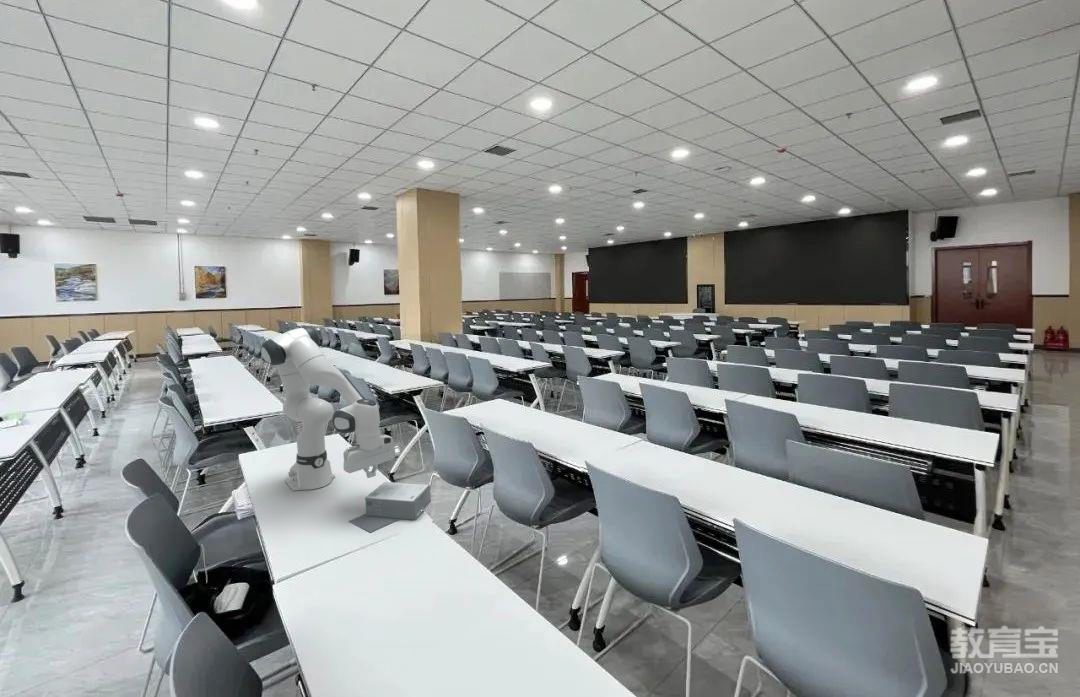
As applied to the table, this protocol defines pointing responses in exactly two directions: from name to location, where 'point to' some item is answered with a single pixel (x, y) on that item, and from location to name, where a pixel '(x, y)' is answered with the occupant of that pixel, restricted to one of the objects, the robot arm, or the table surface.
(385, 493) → the hard drive box
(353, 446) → the robot arm
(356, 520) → the mat
